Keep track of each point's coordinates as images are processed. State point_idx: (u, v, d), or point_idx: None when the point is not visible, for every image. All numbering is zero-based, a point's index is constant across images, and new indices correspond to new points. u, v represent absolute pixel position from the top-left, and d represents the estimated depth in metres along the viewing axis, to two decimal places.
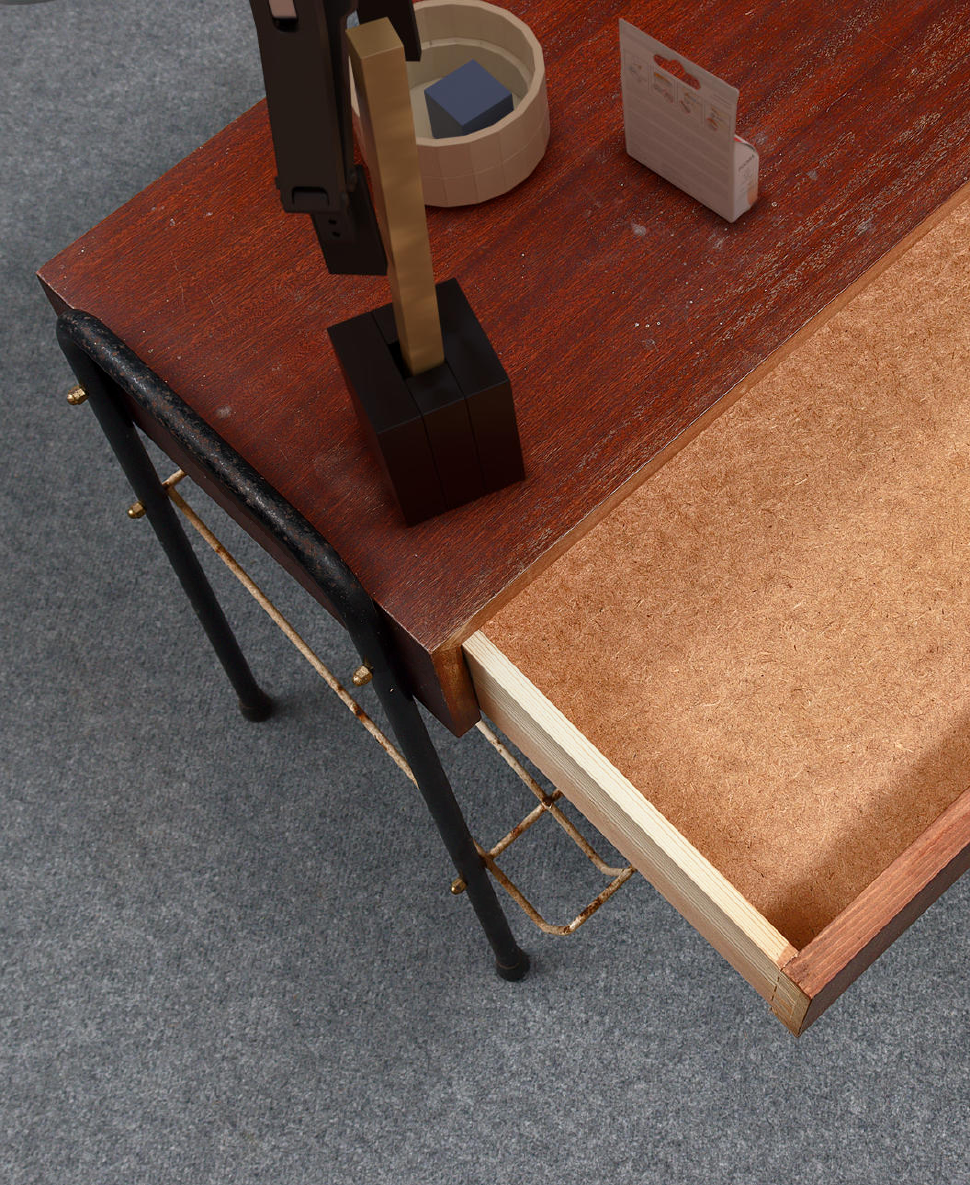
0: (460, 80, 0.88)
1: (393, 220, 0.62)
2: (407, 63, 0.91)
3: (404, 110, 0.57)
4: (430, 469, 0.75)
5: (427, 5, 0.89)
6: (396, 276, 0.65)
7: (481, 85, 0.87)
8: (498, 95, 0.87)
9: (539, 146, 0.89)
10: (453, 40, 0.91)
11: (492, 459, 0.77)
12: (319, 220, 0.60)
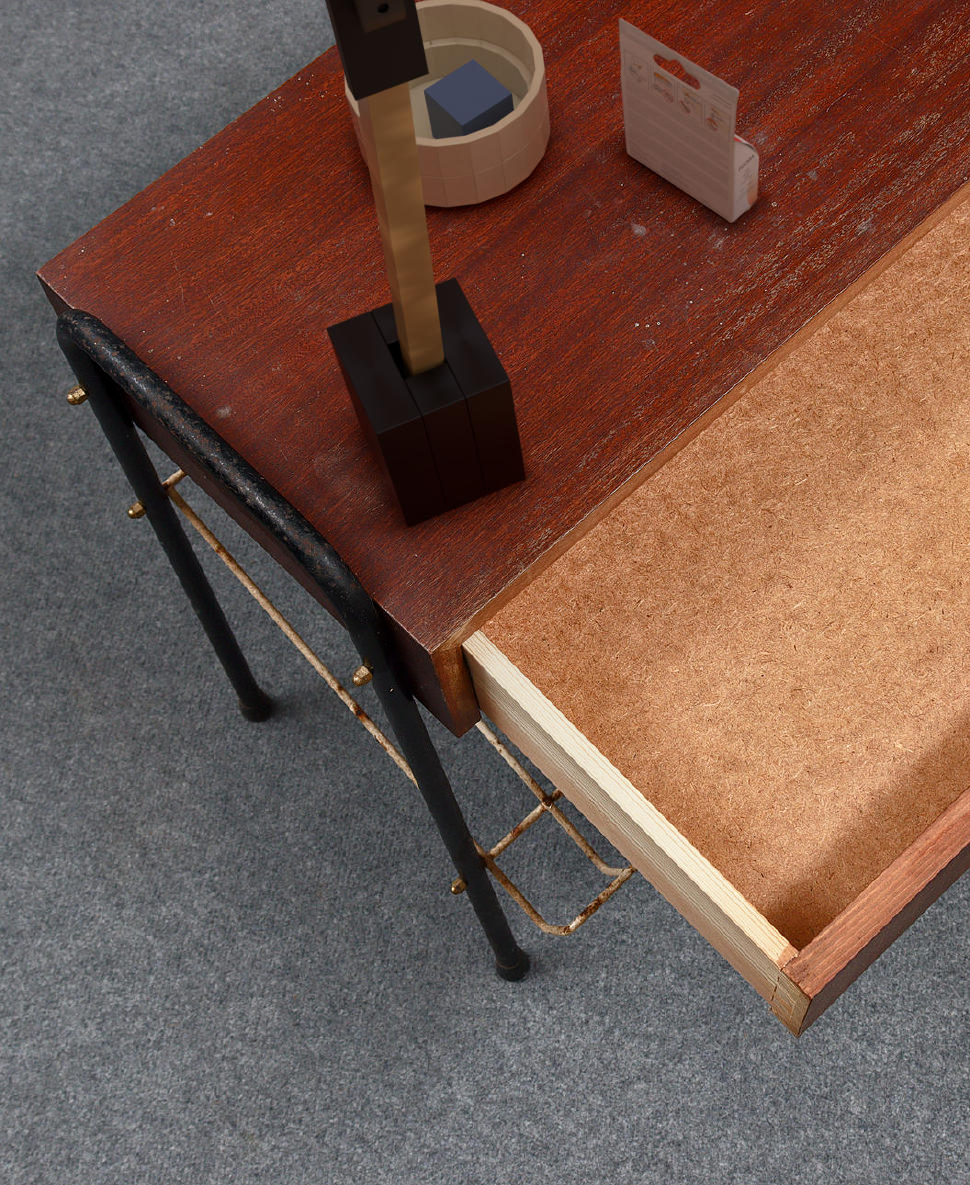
0: (460, 80, 0.88)
1: (393, 220, 0.62)
2: None
3: (404, 110, 0.57)
4: (430, 469, 0.75)
5: (427, 5, 0.89)
6: (396, 277, 0.65)
7: (481, 85, 0.87)
8: (498, 95, 0.87)
9: (539, 146, 0.89)
10: (453, 40, 0.91)
11: (492, 459, 0.77)
12: None
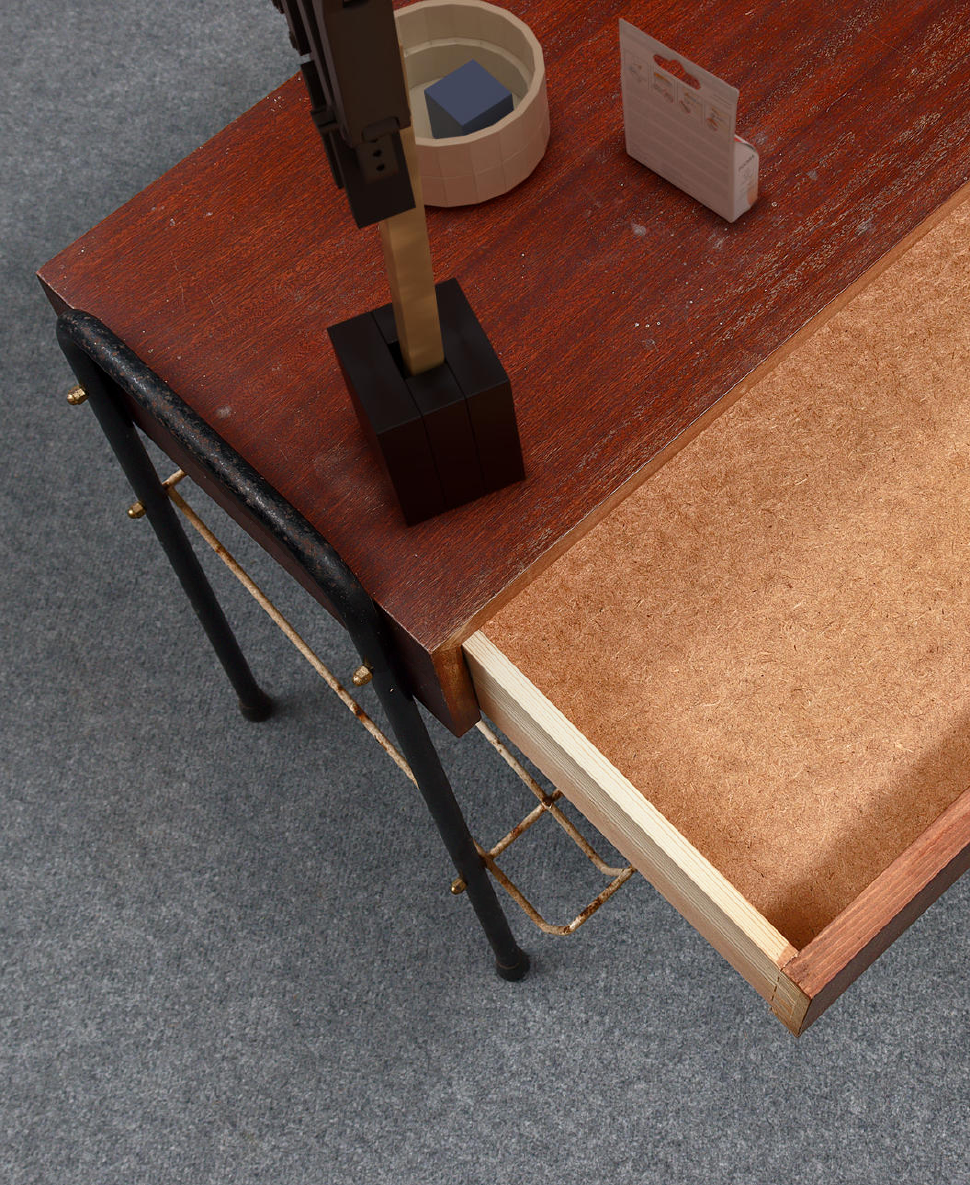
0: (460, 80, 0.88)
1: (392, 219, 0.62)
2: (407, 63, 0.91)
3: None
4: (430, 469, 0.75)
5: (427, 5, 0.89)
6: (395, 276, 0.65)
7: (481, 85, 0.87)
8: (498, 95, 0.87)
9: (539, 146, 0.89)
10: (453, 40, 0.91)
11: (492, 459, 0.77)
12: (363, 157, 0.55)
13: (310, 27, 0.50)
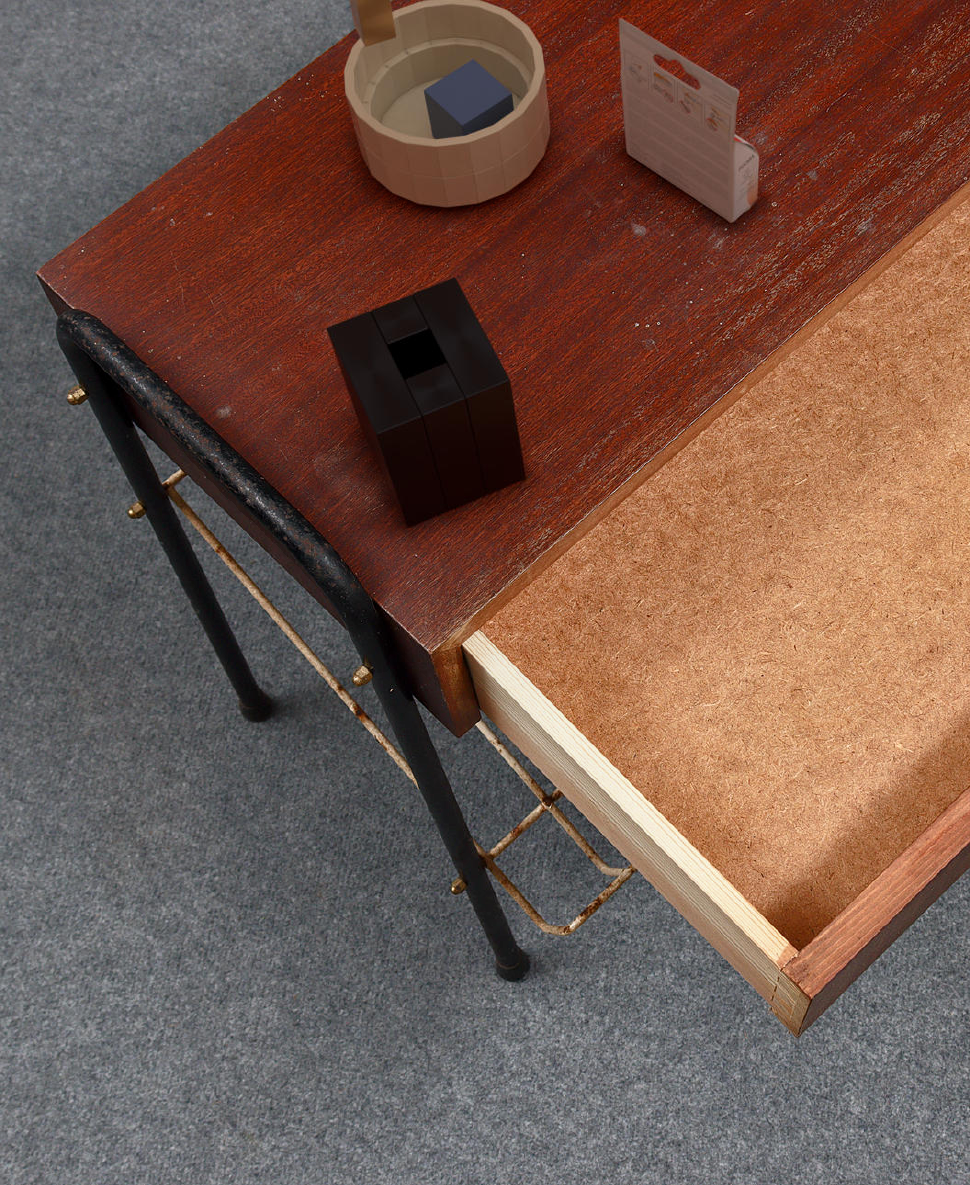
0: (460, 80, 0.88)
1: None
2: (407, 63, 0.91)
3: None
4: (430, 469, 0.75)
5: (427, 5, 0.89)
6: None
7: (481, 85, 0.87)
8: (498, 95, 0.87)
9: (539, 146, 0.89)
10: (453, 40, 0.91)
11: (492, 459, 0.77)
12: None
13: None
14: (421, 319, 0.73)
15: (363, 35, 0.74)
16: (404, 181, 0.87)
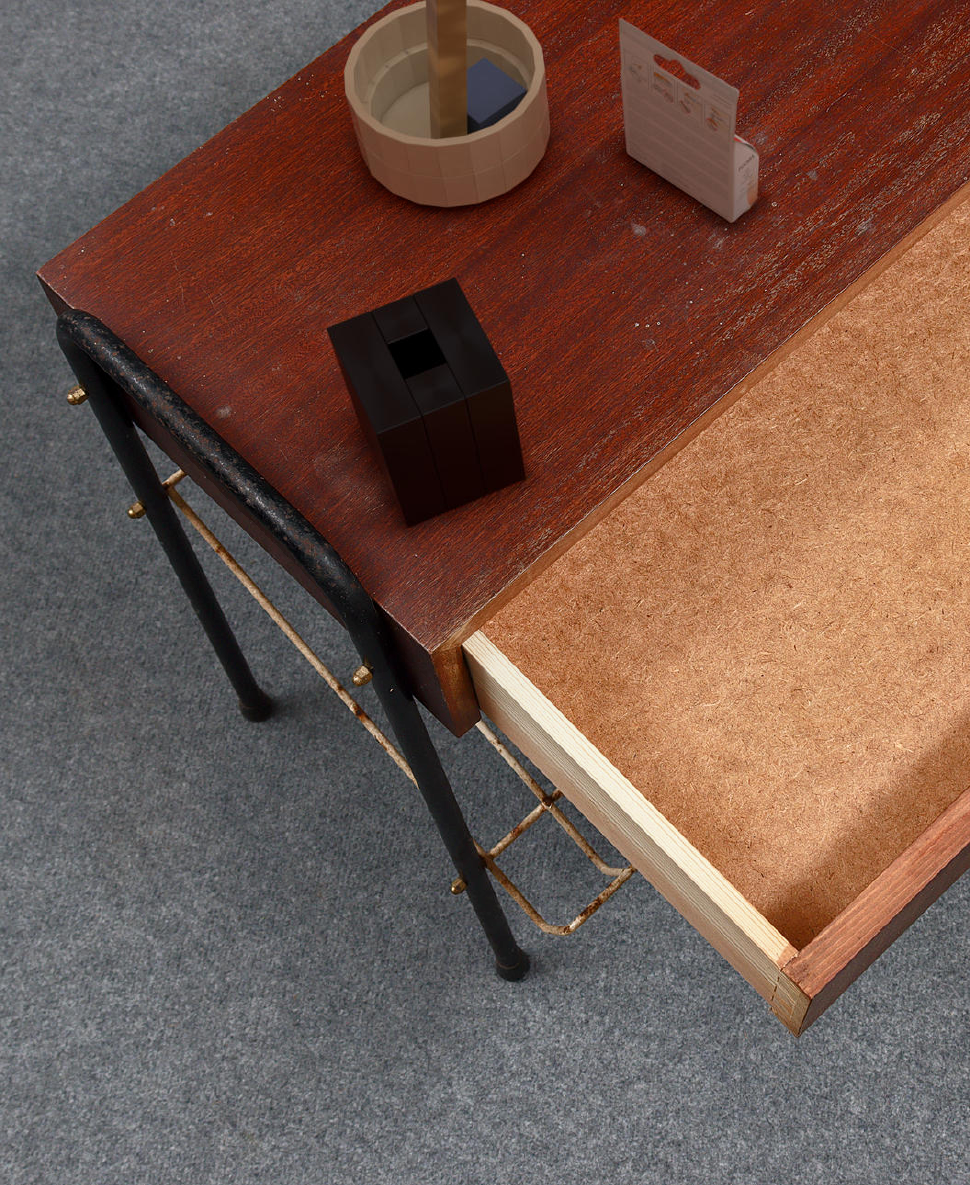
0: (473, 78, 0.88)
1: None
2: (407, 63, 0.91)
3: None
4: (430, 469, 0.75)
5: None
6: None
7: (495, 82, 0.87)
8: (513, 92, 0.87)
9: (539, 146, 0.89)
10: None
11: (492, 459, 0.77)
12: None
13: None
14: (421, 319, 0.73)
15: None
16: (404, 181, 0.87)
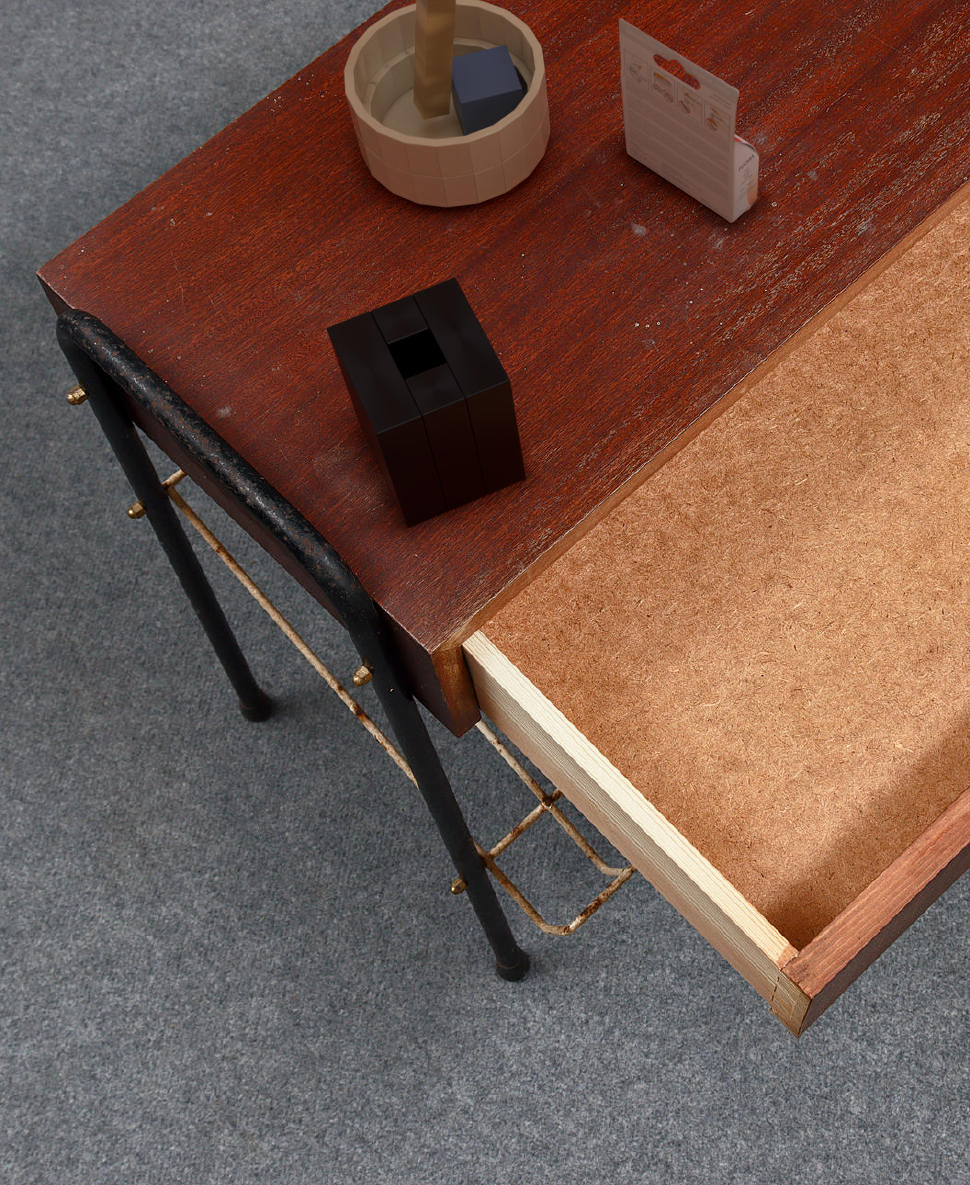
0: (482, 60, 0.88)
1: None
2: (407, 63, 0.91)
3: None
4: (430, 469, 0.75)
5: None
6: None
7: (499, 71, 0.88)
8: (508, 86, 0.87)
9: (539, 146, 0.89)
10: None
11: (492, 459, 0.77)
12: None
13: None
14: (421, 319, 0.73)
15: (424, 110, 0.88)
16: (404, 181, 0.87)
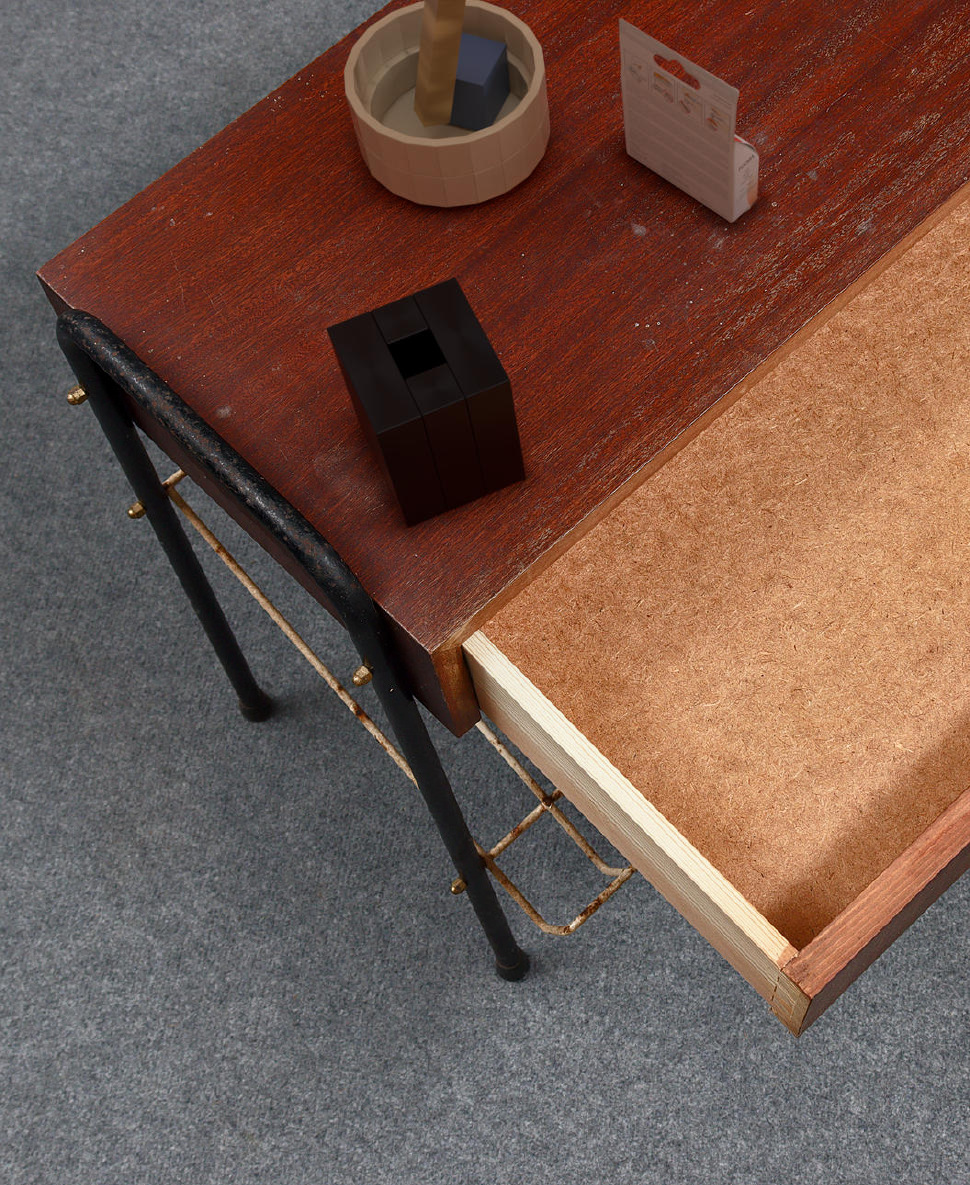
0: (475, 46, 0.89)
1: None
2: (407, 63, 0.91)
3: None
4: (430, 469, 0.75)
5: None
6: None
7: (479, 62, 0.88)
8: (474, 78, 0.87)
9: (539, 146, 0.89)
10: None
11: (492, 459, 0.77)
12: None
13: None
14: (421, 319, 0.73)
15: (425, 117, 0.87)
16: (404, 181, 0.87)
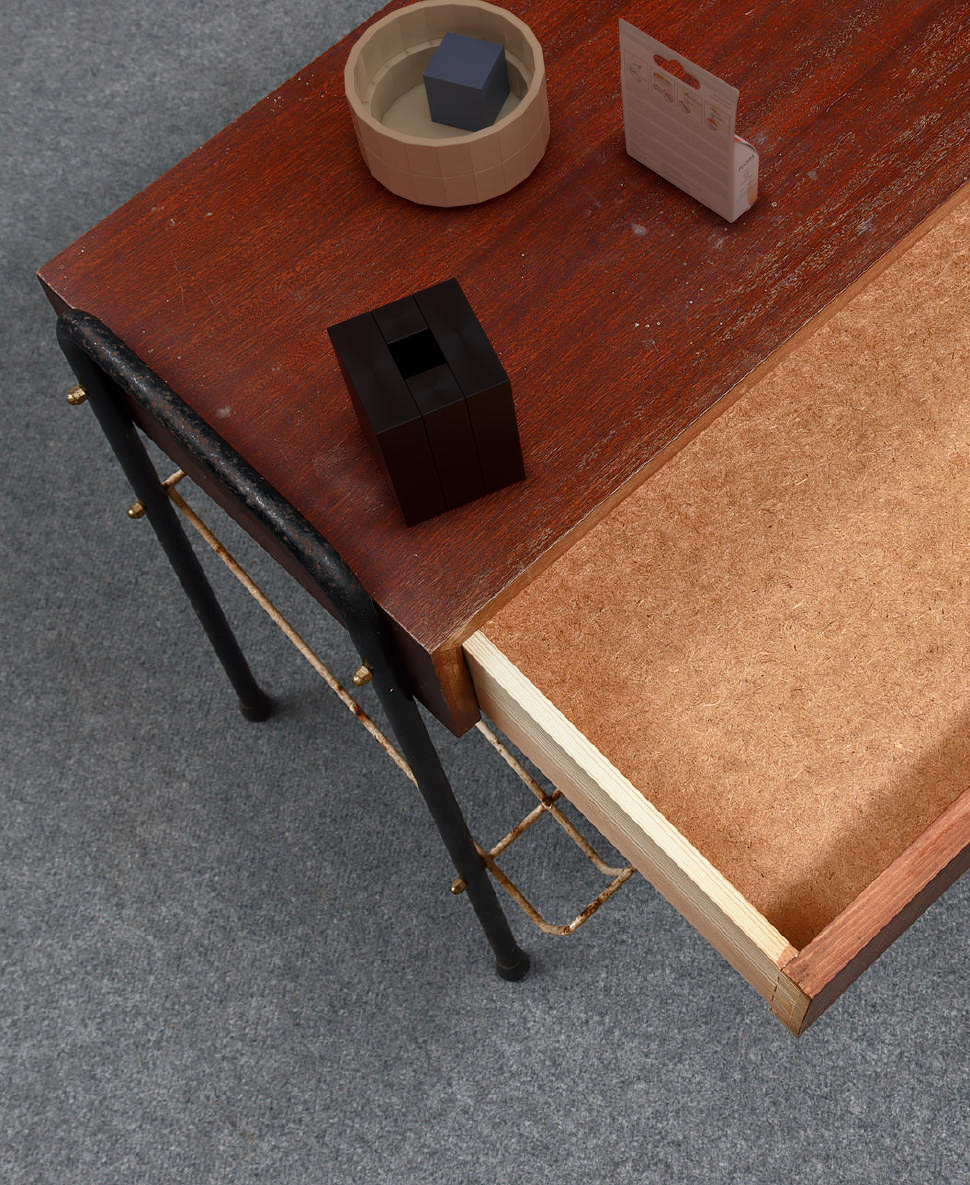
0: (473, 48, 0.89)
1: None
2: (407, 63, 0.91)
3: None
4: (430, 469, 0.75)
5: (427, 5, 0.89)
6: None
7: (477, 65, 0.88)
8: (472, 81, 0.87)
9: (539, 146, 0.89)
10: None
11: (492, 459, 0.77)
12: None
13: None
14: (421, 319, 0.73)
15: None
16: (404, 181, 0.87)
